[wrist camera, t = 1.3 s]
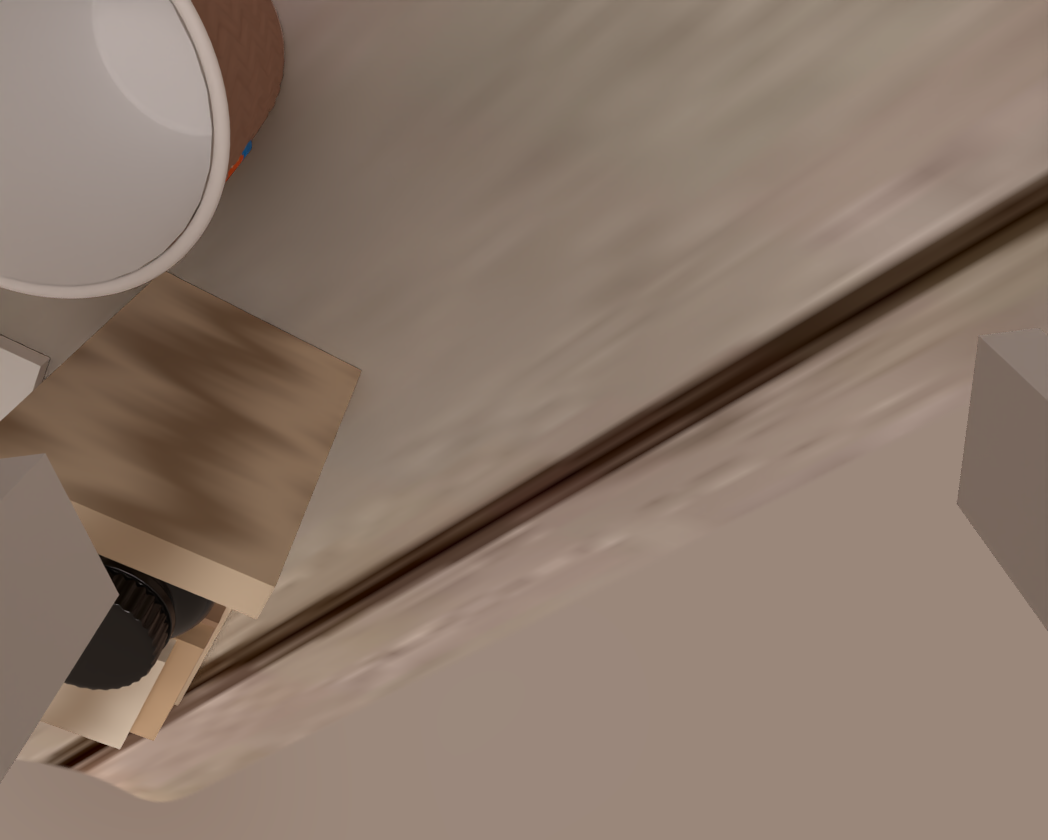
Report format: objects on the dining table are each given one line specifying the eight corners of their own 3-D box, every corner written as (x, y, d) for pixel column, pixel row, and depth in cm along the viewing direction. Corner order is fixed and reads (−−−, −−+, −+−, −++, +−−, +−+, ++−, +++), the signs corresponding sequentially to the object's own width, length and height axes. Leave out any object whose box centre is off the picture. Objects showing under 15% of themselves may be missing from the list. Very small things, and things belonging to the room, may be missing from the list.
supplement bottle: (256, 533, 42) (163, 733, 31) (117, 488, 41) (-28, 682, 30) (291, 423, 39) (200, 606, 28) (140, 371, 37) (-13, 543, 27)
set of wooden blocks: (26, 621, 45) (-162, 877, 33) (163, 270, 35) (-37, 454, 23) (188, 683, 47) (67, 944, 35) (361, 370, 37) (275, 587, 25)
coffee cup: (92, 187, 33) (-111, 307, 23) (-2, -125, 28) (-320, -151, 18) (352, 177, 33) (265, 294, 22) (306, -141, 28) (165, -178, 17)
